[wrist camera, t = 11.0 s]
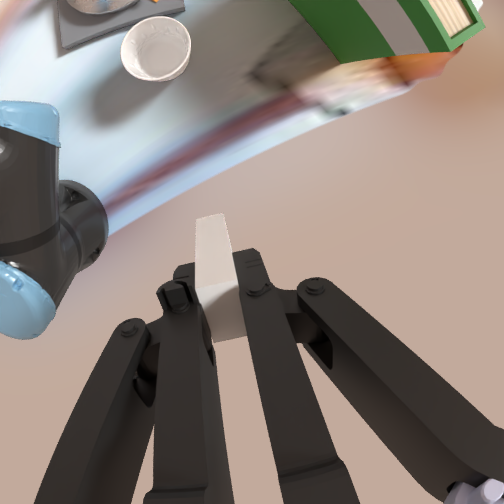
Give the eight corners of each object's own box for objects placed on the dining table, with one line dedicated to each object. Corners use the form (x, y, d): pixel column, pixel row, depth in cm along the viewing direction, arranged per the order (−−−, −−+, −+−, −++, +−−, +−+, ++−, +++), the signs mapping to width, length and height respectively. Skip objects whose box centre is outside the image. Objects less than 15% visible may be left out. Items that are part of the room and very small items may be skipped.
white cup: (205, 53, 36) (206, 40, 27) (168, 95, 38) (158, 93, 29) (162, 24, 33) (152, 4, 24) (126, 66, 35) (106, 58, 26)
